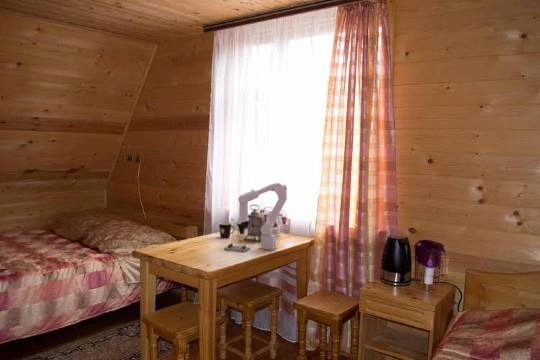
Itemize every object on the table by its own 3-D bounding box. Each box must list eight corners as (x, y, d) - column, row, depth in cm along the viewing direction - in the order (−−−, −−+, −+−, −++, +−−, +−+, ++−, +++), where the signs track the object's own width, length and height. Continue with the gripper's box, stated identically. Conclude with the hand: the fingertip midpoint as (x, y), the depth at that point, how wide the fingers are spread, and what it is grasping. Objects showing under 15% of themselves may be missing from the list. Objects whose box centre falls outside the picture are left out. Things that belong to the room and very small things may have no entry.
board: (250, 249, 288) (250, 244, 288) (244, 252, 279) (244, 247, 279) (230, 246, 293) (230, 242, 292) (223, 249, 284) (224, 245, 284)
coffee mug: (216, 236, 321) (216, 223, 320) (226, 235, 326) (227, 221, 325) (225, 240, 311) (225, 225, 310) (235, 238, 317) (236, 224, 316)
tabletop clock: (241, 240, 312) (242, 204, 310) (246, 237, 321) (247, 202, 318) (261, 242, 308) (262, 206, 306) (265, 239, 317) (266, 204, 314)
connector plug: (247, 235, 297) (247, 227, 297) (245, 236, 293) (245, 228, 293) (240, 234, 299) (240, 227, 298) (238, 235, 295) (238, 228, 295)
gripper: (242, 210, 303) (242, 230, 304) (233, 213, 289) (232, 234, 291) (252, 211, 300) (251, 231, 302) (243, 214, 287) (242, 235, 288)
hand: (243, 233), depth 296 cm, fingers closed on connector plug, 4 cm apart
